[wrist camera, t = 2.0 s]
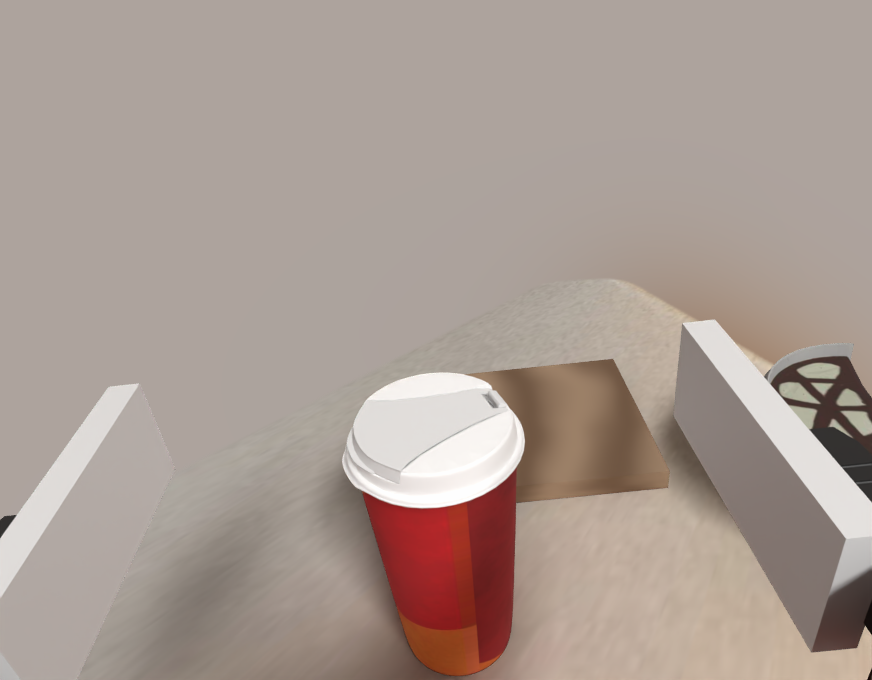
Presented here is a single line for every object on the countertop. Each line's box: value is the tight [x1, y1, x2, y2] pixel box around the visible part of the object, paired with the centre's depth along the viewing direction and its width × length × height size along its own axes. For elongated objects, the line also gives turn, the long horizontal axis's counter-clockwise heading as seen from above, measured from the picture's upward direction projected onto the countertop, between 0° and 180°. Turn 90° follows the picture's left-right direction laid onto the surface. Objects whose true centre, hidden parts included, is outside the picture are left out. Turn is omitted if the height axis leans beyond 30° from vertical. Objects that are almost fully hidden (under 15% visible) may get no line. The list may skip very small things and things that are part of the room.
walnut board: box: [464, 359, 670, 503], centre depth 50 cm, size 18×14×2 cm
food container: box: [764, 343, 872, 455], centre depth 38 cm, size 12×6×10 cm, turn 165°
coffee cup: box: [342, 373, 525, 676], centre depth 32 cm, size 8×8×15 cm
